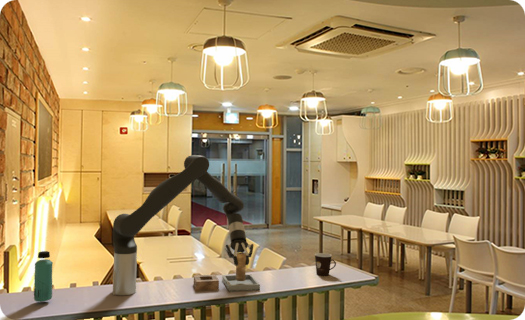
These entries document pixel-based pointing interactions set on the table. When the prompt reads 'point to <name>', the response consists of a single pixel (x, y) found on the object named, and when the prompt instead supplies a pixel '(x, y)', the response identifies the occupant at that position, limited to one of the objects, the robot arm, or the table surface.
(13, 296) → the table surface
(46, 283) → the beverage bottle
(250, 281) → the slate grey tray
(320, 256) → the coffee mug
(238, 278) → the oak dowel
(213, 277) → the walnut block
